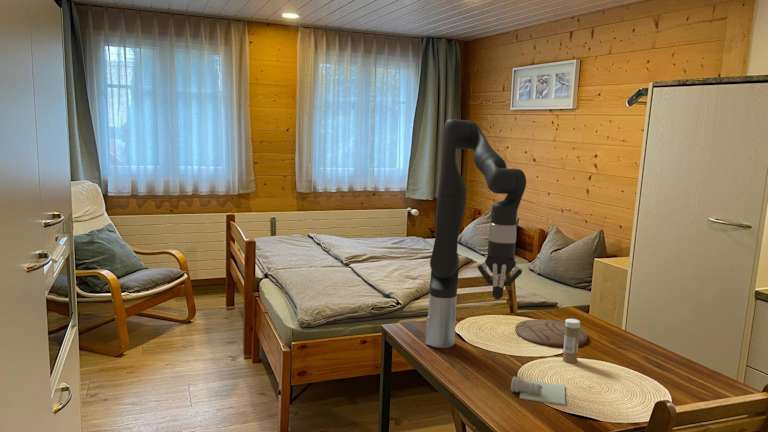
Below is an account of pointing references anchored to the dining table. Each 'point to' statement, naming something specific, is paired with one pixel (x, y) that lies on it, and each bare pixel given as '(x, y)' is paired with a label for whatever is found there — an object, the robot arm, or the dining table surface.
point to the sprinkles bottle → (571, 340)
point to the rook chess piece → (525, 386)
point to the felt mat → (546, 393)
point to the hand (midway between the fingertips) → (497, 298)
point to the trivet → (546, 332)
